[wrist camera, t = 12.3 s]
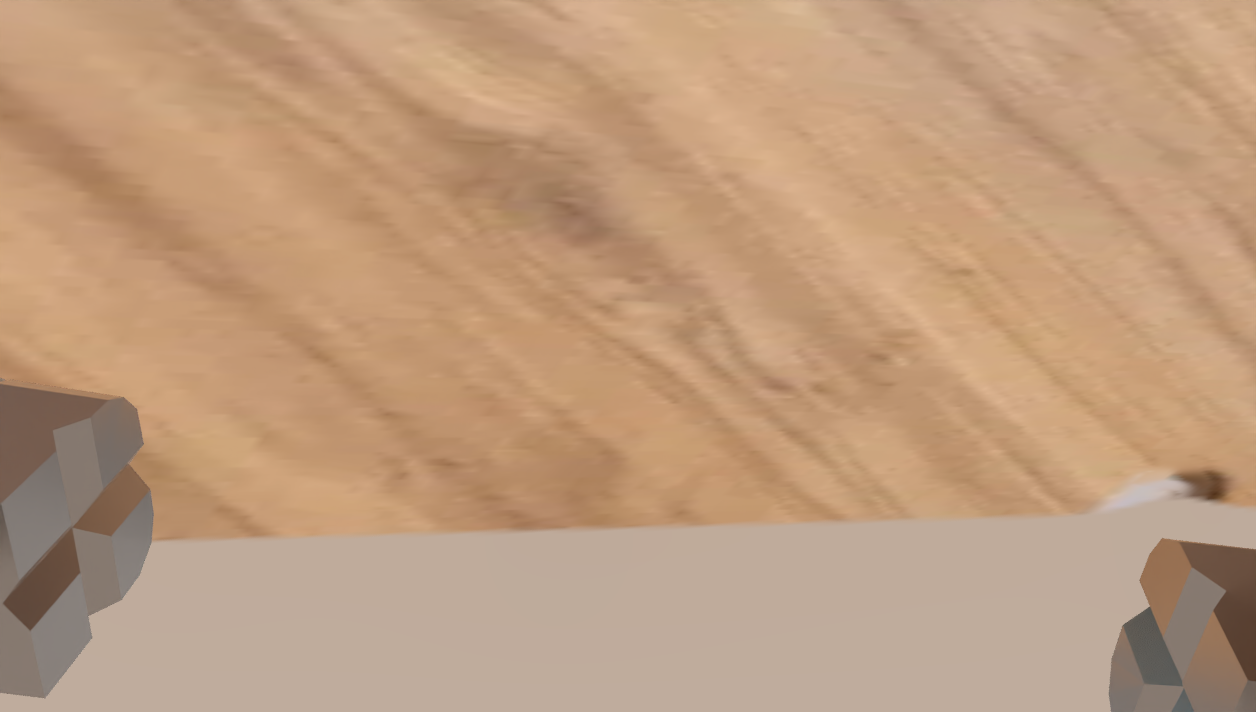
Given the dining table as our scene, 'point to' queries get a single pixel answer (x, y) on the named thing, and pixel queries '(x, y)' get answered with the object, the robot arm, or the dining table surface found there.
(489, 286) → the dining table surface
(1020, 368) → the dining table surface
